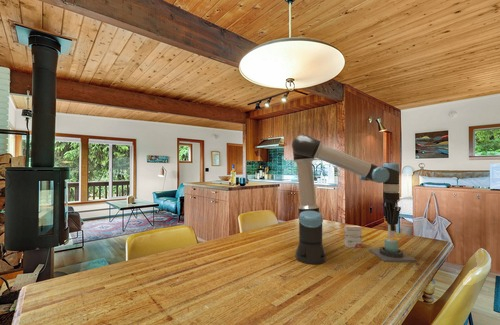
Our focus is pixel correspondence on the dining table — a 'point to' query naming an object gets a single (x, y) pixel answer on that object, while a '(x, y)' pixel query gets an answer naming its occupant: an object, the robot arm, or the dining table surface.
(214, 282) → the dining table surface
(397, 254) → the square plate with ring
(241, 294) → the dining table surface
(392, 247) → the cap
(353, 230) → the ink box
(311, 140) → the robot arm
